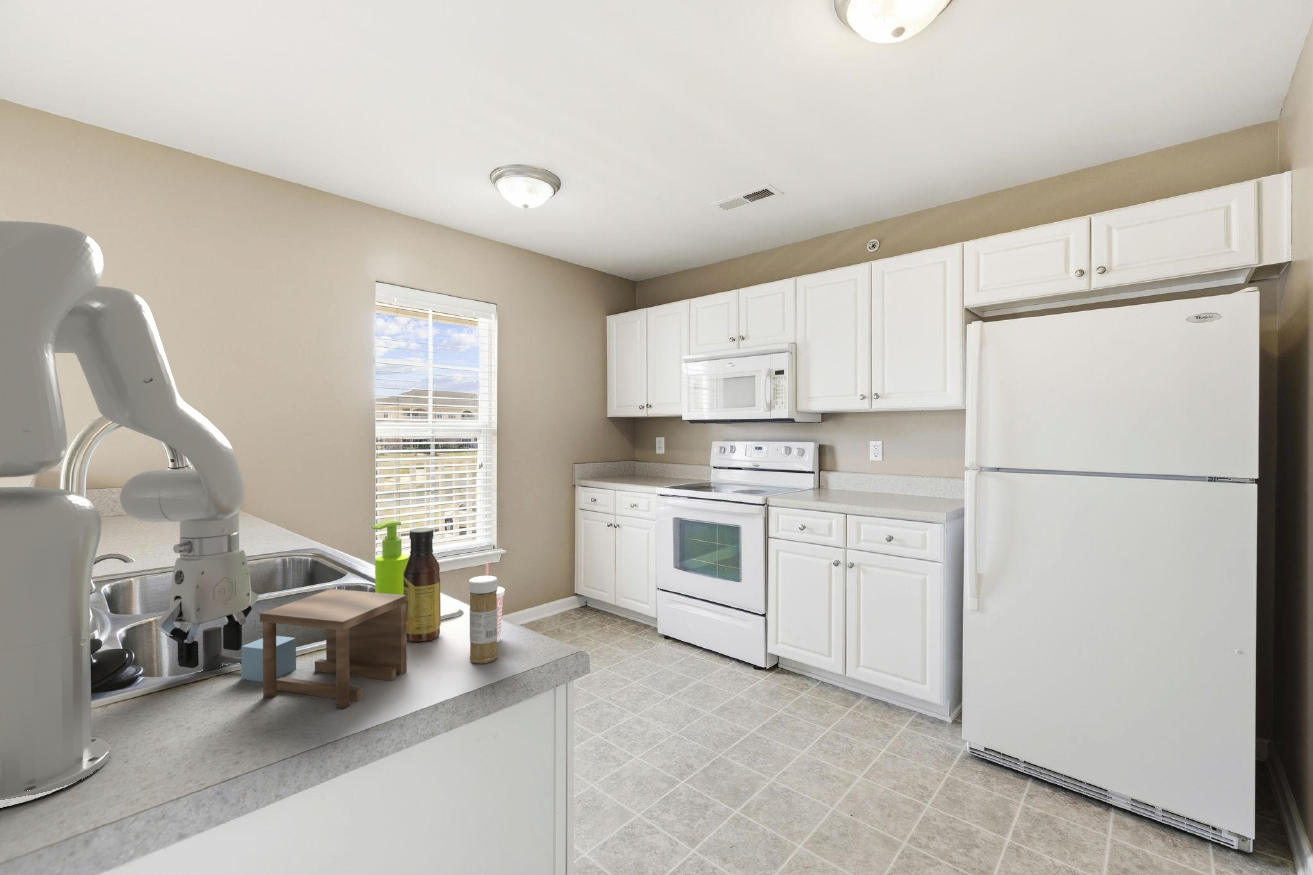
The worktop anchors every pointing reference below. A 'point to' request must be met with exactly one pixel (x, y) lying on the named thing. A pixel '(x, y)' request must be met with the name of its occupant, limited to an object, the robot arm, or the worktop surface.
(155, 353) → the robot arm
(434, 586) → the sauce bottle
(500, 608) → the beverage cup
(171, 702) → the worktop surface
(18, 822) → the worktop surface
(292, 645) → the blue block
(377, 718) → the worktop surface
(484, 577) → the sprinkles bottle
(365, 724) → the worktop surface
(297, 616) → the walnut shelf
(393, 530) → the soap dispenser
